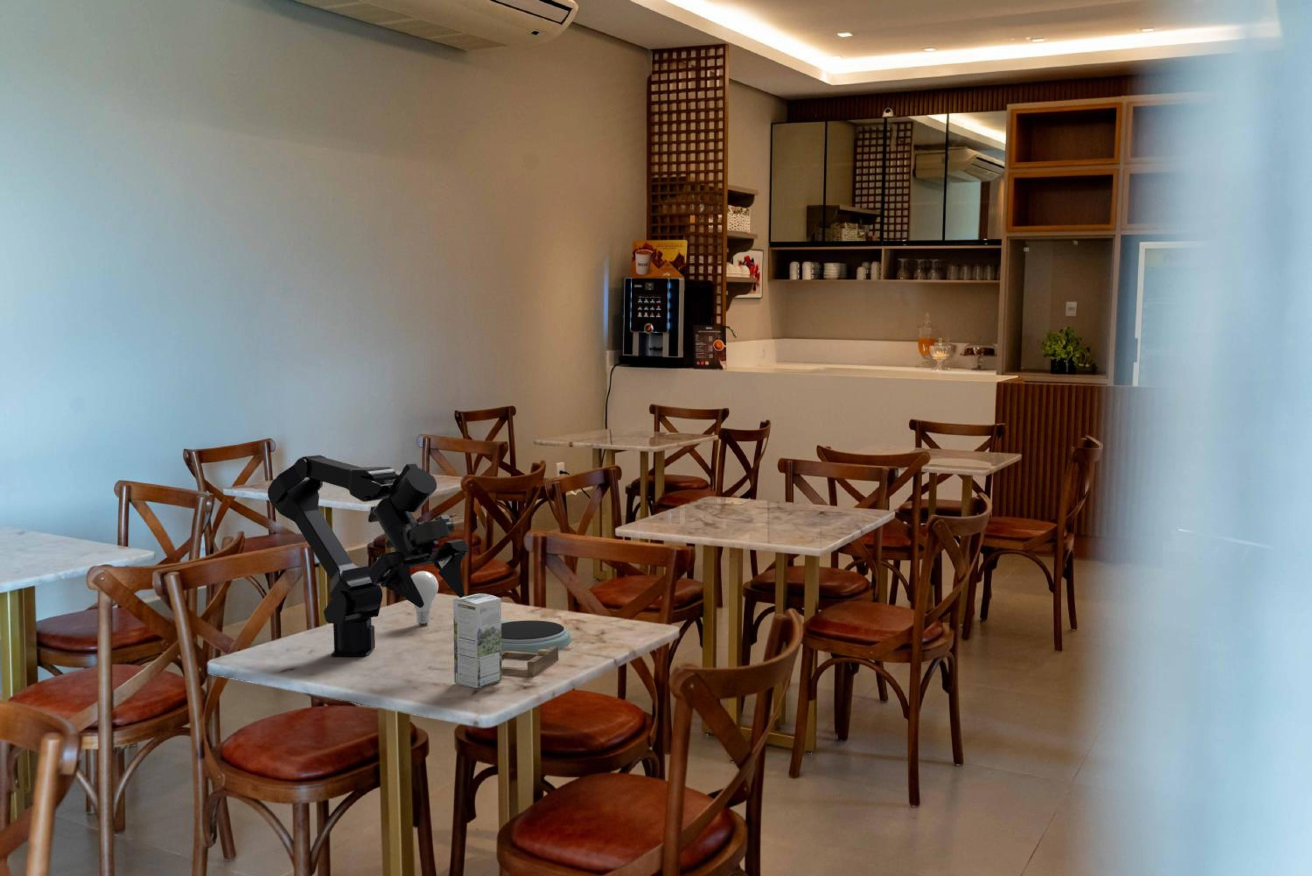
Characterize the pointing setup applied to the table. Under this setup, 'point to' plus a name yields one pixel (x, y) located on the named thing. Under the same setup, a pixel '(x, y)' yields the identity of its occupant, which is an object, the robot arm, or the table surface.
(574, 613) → the table surface
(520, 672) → the square wooden frame
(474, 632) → the syrup box
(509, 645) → the scale
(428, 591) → the lightbulb
